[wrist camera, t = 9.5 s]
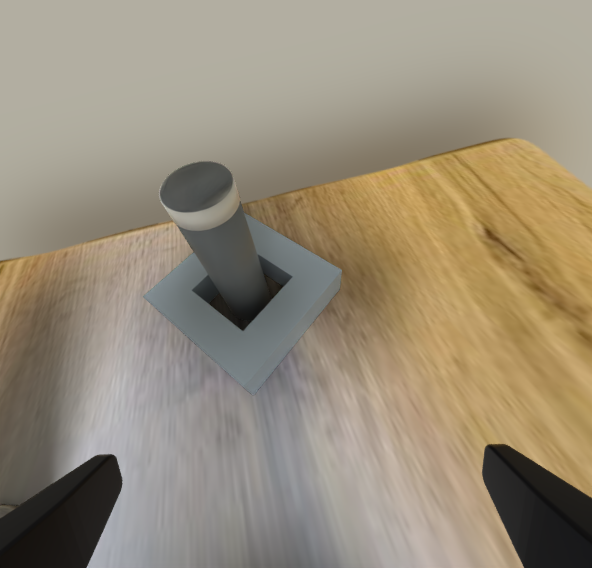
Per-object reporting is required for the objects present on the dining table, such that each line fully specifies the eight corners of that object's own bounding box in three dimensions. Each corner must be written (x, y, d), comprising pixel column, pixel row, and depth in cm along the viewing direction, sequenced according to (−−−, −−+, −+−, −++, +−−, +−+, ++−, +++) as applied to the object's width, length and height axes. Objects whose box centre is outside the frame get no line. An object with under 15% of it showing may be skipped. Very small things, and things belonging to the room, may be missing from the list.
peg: (262, 326, 24) (213, 219, 13) (222, 314, 24) (144, 205, 14) (277, 288, 25) (245, 166, 15) (239, 278, 26) (182, 156, 15)
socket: (253, 395, 21) (243, 387, 18) (161, 312, 25) (142, 296, 22) (339, 289, 25) (342, 270, 22) (248, 232, 29) (241, 210, 26)
